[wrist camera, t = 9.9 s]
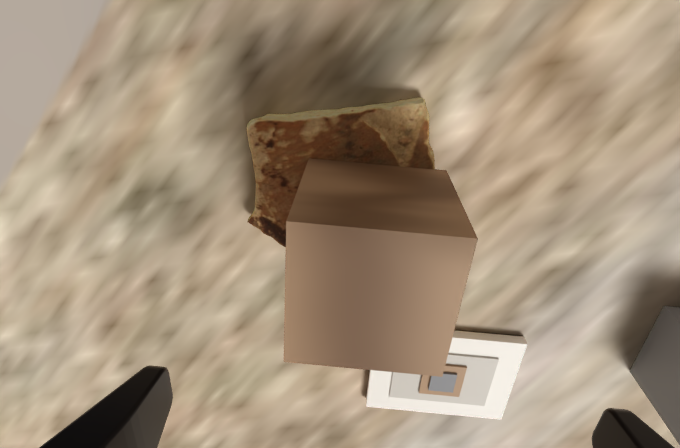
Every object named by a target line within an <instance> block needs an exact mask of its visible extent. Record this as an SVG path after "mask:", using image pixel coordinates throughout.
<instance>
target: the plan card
mask: <svg viewBox="0 0 680 448" xmlns="http://www.w3.org/2000/svg"><path fill="white" fill-rule="evenodd" d="M526 347H527V342H526V340H525V338H524V337H522V336H511V335H500V334H488V333H477V332H466V331H455V330H454V333H453V337H452V341H451V345H450V349H449V353H448V357H447V361H446V365H445V368H444V372H443V376H442V377H438V376H428V375H417V374H407V373H397V372H386V371H376V370H370V373H369V381H368V389H367V397H366V407H375V408H386V409H396V410H407V411H417V412H427V413H438V414H448V415H459V416H469V417H480V418H490V419H500V420H501V419H502V416H503V413H504V410H505V407H506V404H507V401H508V399H509V396H510V393H511V390H512V387H513V384H514V381H515V378H516V376H517V373H518V370H519V367H520V364H521V361H522V358H523V356H524V353H525V350H526Z"/></svg>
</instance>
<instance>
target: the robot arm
mask: <svg viewBox="0 0 680 448" xmlns="http://www.w3.org/2000/svg"><path fill="white" fill-rule="evenodd" d="M172 399H173V394H172V388H171V382H170V377H169V372H168V369H167V368H166V367H160V366H146V367H144V368H143V369H142V370H140V371H139V372H138V373H136V374H135V375H134V376H132V377H131V378H130V379H128V380H127V381H126V382H125V383H123V384H122V385H121V386H119V387H118V388H117V389H115V390H114V391H113V392H111V393H110V394H109V395H108V396H106V397H105V398H104V399H102V400H101V401H100V402H98V403H97V404H96V405H94V406H93V407H92V408H91V409H89V410H88V411H87V412H85V413H84V414H83V415H81V416H80V417H79V418H77V419H76V420H75V421H74V422H72V423H71V424H70V425H68V426H67V427H66V428H64V429H63V430H62V431H60V432H59V433H58V434H57V435H55V436H54V437H53V438H51V439H50V440H49V441H47V442H46V443H45V444H43V445H42V446H41V447H40V448H157V447H158V444H159V441H160V438H161V435H162V432H163V429H164V426H165V423H166V420H167V417H168V414H169V411H170V408H171V404H172ZM592 445H593V448H674V447H673V446H672V445H671V444H669V443H668V442H667V441H666V440H665V439H663V438H662V437H661V436H660V435H659V434H657V433H656V432H655V431H654V430H653V429H652V428H650V427H649V426H648V425H647V424H646V423H644V422H643V421H642V420H641V419H640V418H638V417H637V416H636V415H635V414H634V413H632V412H631V411H628V410H625V409H614V408H608V409H606V410H605V411H604V412H603V414H602V416H601V418H600V420H599V422H598V424H597V426H596V428H595V430H594V432H593V435H592Z"/></svg>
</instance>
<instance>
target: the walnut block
mask: <svg viewBox="0 0 680 448" xmlns="http://www.w3.org/2000/svg"><path fill="white" fill-rule="evenodd" d="M477 239H478V238H477V236H476V234H475V232H474V230H473V227H472V225H471V223H470V221H469V219H468V216H467V214H466V212H465V210H464V208H463V206H462V203H461V201H460V199H459V197H458V195H457V192H456V190H455V188H454V186H453V184H452V182H451V179H450V177H449V175H448V173H447V171H446V170H435V169H423V168H412V167H401V166H390V165H378V164H367V163H356V162H345V161H333V160H322V159H311V158H309V159H308V162H307V165H306V168H305V171H304V173H303V176H302V179H301V182H300V184H299V187H298V190H297V193H296V196H295V198H294V201H293V204H292V207H291V209H290V212H289V215H288V218H287V221H286V264H285V319H284V362H292V363H303V364H313V365H323V366H334V367H344V368H355V369H365V370H376V371H386V372H397V373H407V374H417V375H428V376H438V377H442V376H443V372H444V368H445V365H446V361H447V357H448V353H449V349H450V345H451V341H452V337H453V333H454V329H455V325H456V322H457V318H458V314H459V310H460V306H461V302H462V298H463V294H464V290H465V286H466V282H467V279H468V275H469V271H470V267H471V263H472V259H473V255H474V251H475V247H476V243H477Z"/></svg>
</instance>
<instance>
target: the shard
mask: <svg viewBox="0 0 680 448" xmlns="http://www.w3.org/2000/svg"><path fill="white" fill-rule="evenodd" d="M246 130H247V136H248V143H249V147H250V150H251V153H252V161H253V167H254V172H255V181H256V191H255V209H254V211H253V213H252V215H251V216H250V217H249V219H248V222H249V223H250V224H252V225H253V226H255V227H257V228H259V229H260V230H261V231H262V232H263V233H264V234H266V235H268V236H271V237H272V238H274V239H275V240H276V241H277V242H278V243H279V244H281V245H283V246H284V247H286V221H287V218H288V215H289V212H290V209H291V207H292V204H293V201H294V198H295V196H296V193H297V190H298V187H299V184H300V182H301V179H302V176H303V173H304V171H305V168H306V165H307V162H308V159H309V158H311V159H322V160H333V161H345V162H356V163H367V164H378V165H390V166H401V167H412V168H423V169H435V167H434V154H433V150H432V148H431V147H430V145H429V113H428V111H427V108H426V103H425V100H424V99H423V98H420V97H418V98H411V99H408V100H399V101H396V102H390V103H380V104H372V105H365V106H361V107H346V108H341V109H337V110H336V109H328V110H311V111H304V112H295V113H293V114H266V115H265V116H263V117H260V118H256V119H252V120H250V121H249V123H248V124H247V129H246Z"/></svg>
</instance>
